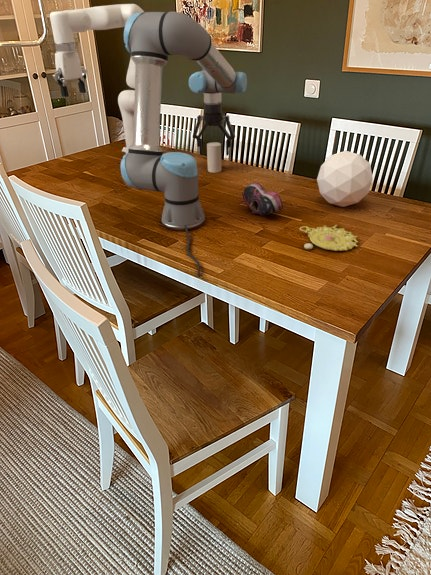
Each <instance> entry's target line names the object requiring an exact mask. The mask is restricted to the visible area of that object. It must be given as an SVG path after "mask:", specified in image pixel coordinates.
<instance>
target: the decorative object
mask: <svg viewBox="0 0 431 575" xmlns="http://www.w3.org/2000/svg"><path fill="white" fill-rule="evenodd" d="M303 228H304V229H305V230H304V229H303ZM299 231H300V232H303V233H305V234H307V237H308V238H309V240H310V241H311V243H304V244H303V248H304V249H305V250H313V249H314V245H315V246H316V247H318V248H321V249H324V250H328V251H335V252H341V251H348V250H352V249H354V247H356V248H358V247H359V245H358V244H357V243H359V240H357V238H359V237H358V235H353V234H352V231H347V230H346V229H345V228H344V227H342V228H338V224H335V225H333V226H331V227H328V226H327V225H326V224H325V225H323V226H322V227H321V226H317V227H316V228H314V227H309V226H308V225H302V226H300V227H299ZM313 244H314V245H313Z"/></svg>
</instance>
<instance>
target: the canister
mask: <svg viewBox="0 0 431 575" xmlns="http://www.w3.org/2000/svg"><path fill="white" fill-rule="evenodd" d="M206 155H207V156H206V158H207V159H206V160H207V172H209V173H213V174H215V173H216V174H217V173H220V172H222V143H220V142H217V141H212V142H208V143H206Z"/></svg>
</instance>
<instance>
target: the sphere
mask: <svg viewBox="0 0 431 575" xmlns="http://www.w3.org/2000/svg"><path fill="white" fill-rule="evenodd" d="M373 178H374V177H373V172H372V166H371V163H370V162H369V161H368V160H367V159H366V158H365V157H364V156H362V154H360V153H355V152H352V151H349V150H344V151H340V152H337V153H334V154H331V155H330V156H328V158H326V160H325V161H324V162H323V163H322V164H321V165H320V168H319V171H318V175H317V178H316V183H317V186H318V191H319V194H320V195H321V196H322V198H323V199H324V200H325V201H326V202H327V203H328V204H330V205H333V206H337V207H342V208H345V207H348V206H351V205H354V204H355V205H356V204H359V202H360V201H362V200H363V199H364V198H365V197H366V196H367V195H368V194H369V193H370V189H371V186H372V181H373Z"/></svg>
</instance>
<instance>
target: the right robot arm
mask: <svg viewBox="0 0 431 575" xmlns="http://www.w3.org/2000/svg"><path fill="white" fill-rule="evenodd" d="M123 28H124V29H123V42H124V44H125V46H124V47H125V50H127V52H128V53H129V54H130V59H132V60H133V62H134V63H135V65H136V71H135V89H134V90H135V102H134V133H133V144H132V145H131V146H130V147H129V148H128V153H127V154H126V153H125V154H124V155H123V156H122V159H121V160H120V174H121V177H122V180H123V181H124V183H125V184H126V185H127V186H128V187H130V188H132V189H137V190H139V191H141V190H144V191H151V192H159V193H163V195H164V204H163V209H162V213H161V219H160V220H161V225H162V227H163V228H165V229H167V230H170V231H175V232H176V231H177V232H185V233H186V237H187V246H186V252H187V254H188V256H189V257H190V258H191V259H192V260H193V261H194V262H195V263H196V265H197V270H196V271H197V277H198V278H200V277H201V264H200V261H199V260H198V259H197V258H196V257H195V256H194V255H193V253H191V251H190V246H191V236H190V233H189V231H192V230H195V229H198V228H201V227H202V226H203V225H204V224H205V223H206V216H205V212H204V210H203V208H202V204H201V202H200V196H199V170H198V164H197V163H198V162H197V160H196V159H195V157H194V156H192V155H191V154H188V153H185V152H180V151H175V152H174V151H168V152H164V150H163V149H162V148H161V146H160V128H161V127H160V126H161V110H162V109H161V108H162V88H163V87H162V86H163V69H164V67H165V66H167V65H168V61H169V56H184V57H187V59H189V60H191V61H193V62H196V63H197V64H198V65H199V66H200V67H201V68H202V70H199V71H195V72H194V73H192V74H191V75H190V76H189V77H188V87H189V89H190V90H191V92H193V93H194V94H198V95H199V94H203V103H204V104H203V112H204V115H201V114H199V115H198V116H197V117H196V119H197V120H196V124H195V128H194V130H193V134H192V138H193V139H195V140H196V146H197V147H198V149H199V150H198V151H199V155H200V156H201V155H202V154H203V152H204V151H203V138H201V137H202V136H203V134H204V133H205V131H206V129H207V128H208V126H209V127H218V128H219V129H220V131H221V133H223V135H224V137H225V138H226V139H225V156H227V157H228V156H229V155H230V154H229V153H230V148H231V147H232V140H234V139H235V138H236V135H235V134H236V133H235V131H234V129H233V126H232V123H231V121H230V115H228V114H227V115H223V106H222V102H223V101H222V98H223V97H222V94H235V95H236V94H244V93H245V92H246V90H247V87H248V77H247V74H246V73H245V72H243V71H235V69H234V68H233V67H232V65H231V64H230V63H229V62H228V60H227V59H226V58H225V57H224V55H223V54H222V53H221V52H220V51H219V49H218V48H217V47H216V46H215V45H214V44H213V40H212V37H211V34H210V32H208V31H207V30H206V29H205V27H204V26H203V25H202V24H200V23H199V22H198V21H196V20H195V19H193V18H192V17H190V16H188V15H187V14H184V13H182V12H179V11H144V12H142V13H135V14H133V15H131V17H130V18H129V19H128V20H127V22H126V25H125V27H123ZM203 120H204V122H205V124H204V125H203V127H202V129H201V130H200V131H199V129H200V127H201V122H202V121H203ZM222 120H223V121H224V122H225V124H226V127H227V129H228V130H227V129H226V127H225V126H224V123H222ZM198 132H199V133H198Z"/></svg>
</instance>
